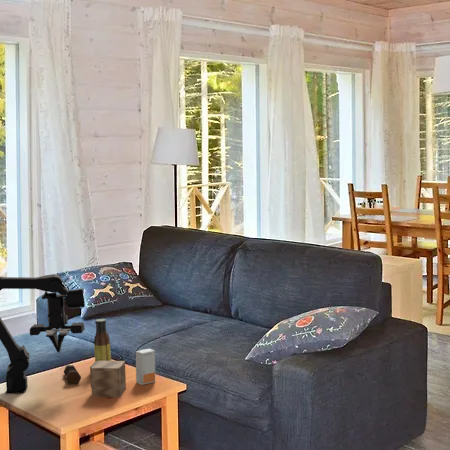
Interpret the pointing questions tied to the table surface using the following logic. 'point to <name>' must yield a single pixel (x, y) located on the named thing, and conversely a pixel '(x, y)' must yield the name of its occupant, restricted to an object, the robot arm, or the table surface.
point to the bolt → (72, 375)
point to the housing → (108, 378)
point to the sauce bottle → (102, 342)
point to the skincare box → (145, 366)
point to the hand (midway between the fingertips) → (58, 352)
